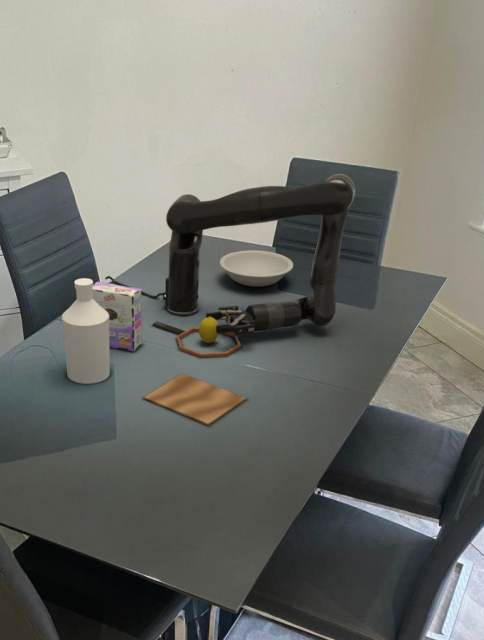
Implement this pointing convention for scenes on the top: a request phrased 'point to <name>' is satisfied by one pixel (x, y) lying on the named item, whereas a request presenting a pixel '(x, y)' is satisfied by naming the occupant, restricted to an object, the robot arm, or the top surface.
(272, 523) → the top surface
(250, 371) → the top surface
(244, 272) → the soup bowl
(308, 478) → the top surface
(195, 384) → the wooden cutting board
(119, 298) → the candy box
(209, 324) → the lemon
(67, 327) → the bottle
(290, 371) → the top surface
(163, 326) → the magnifying glass
